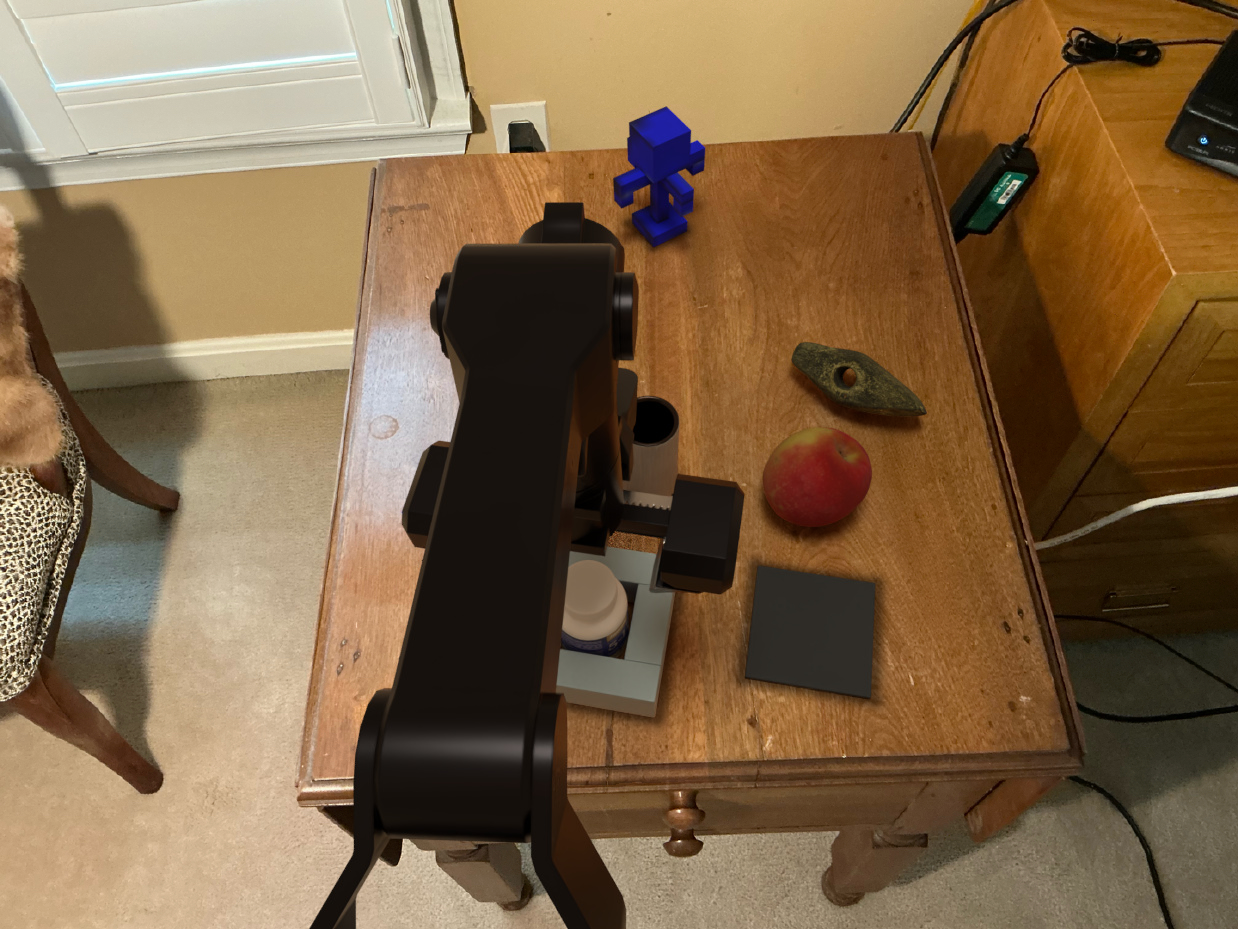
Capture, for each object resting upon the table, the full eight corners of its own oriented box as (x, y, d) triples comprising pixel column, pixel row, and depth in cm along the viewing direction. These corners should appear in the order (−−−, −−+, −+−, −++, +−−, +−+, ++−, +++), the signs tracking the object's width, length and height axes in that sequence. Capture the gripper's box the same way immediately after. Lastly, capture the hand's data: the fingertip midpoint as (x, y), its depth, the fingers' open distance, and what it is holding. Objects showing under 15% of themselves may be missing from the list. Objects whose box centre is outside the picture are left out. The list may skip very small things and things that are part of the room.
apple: (850, 555, 69) (871, 506, 62) (749, 528, 71) (759, 478, 64) (866, 475, 73) (888, 421, 66) (770, 451, 74) (781, 396, 68)
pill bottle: (622, 673, 65) (618, 630, 57) (553, 661, 66) (540, 617, 58) (635, 606, 68) (632, 557, 60) (568, 596, 68) (557, 546, 61)
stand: (654, 718, 63) (654, 702, 60) (506, 692, 65) (498, 675, 61) (677, 578, 69) (678, 556, 65) (540, 557, 70) (534, 534, 67)
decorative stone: (790, 432, 75) (799, 398, 71) (787, 361, 79) (794, 325, 75) (922, 435, 75) (938, 401, 70) (911, 363, 79) (926, 327, 74)
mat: (869, 699, 63) (870, 697, 63) (744, 678, 64) (745, 676, 64) (874, 584, 68) (875, 582, 68) (757, 567, 69) (757, 565, 69)
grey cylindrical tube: (670, 518, 71) (672, 451, 63) (616, 508, 72) (610, 440, 63) (681, 471, 74) (684, 400, 65) (628, 461, 74) (625, 390, 66)
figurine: (703, 206, 90) (709, 104, 80) (689, 260, 86) (693, 160, 76) (631, 196, 91) (628, 94, 81) (613, 248, 87) (608, 148, 77)
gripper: (766, 342, 47) (742, 488, 60) (430, 302, 49) (478, 451, 62) (743, 527, 41) (722, 643, 54) (364, 471, 43) (433, 596, 57)
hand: (584, 574), depth 57 cm, fingers open, 9 cm apart
